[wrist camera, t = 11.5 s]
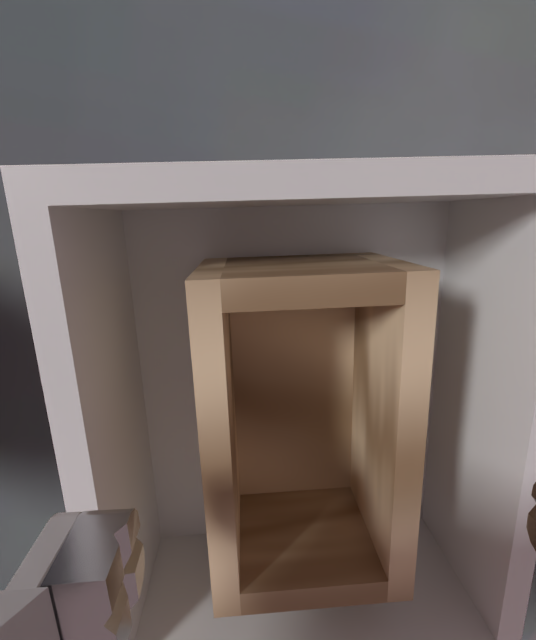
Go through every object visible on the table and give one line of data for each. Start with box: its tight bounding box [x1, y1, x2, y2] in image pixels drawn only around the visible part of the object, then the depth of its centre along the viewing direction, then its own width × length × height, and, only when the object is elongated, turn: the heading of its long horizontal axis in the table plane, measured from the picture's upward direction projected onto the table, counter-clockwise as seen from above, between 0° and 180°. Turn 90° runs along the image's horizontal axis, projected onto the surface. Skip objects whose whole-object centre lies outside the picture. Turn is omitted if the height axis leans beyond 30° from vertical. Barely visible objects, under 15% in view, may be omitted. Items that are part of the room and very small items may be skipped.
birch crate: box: [185, 252, 440, 618], centre depth 13 cm, size 10×6×5 cm, turn 2°
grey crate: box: [0, 154, 536, 640], centre depth 13 cm, size 15×13×6 cm
